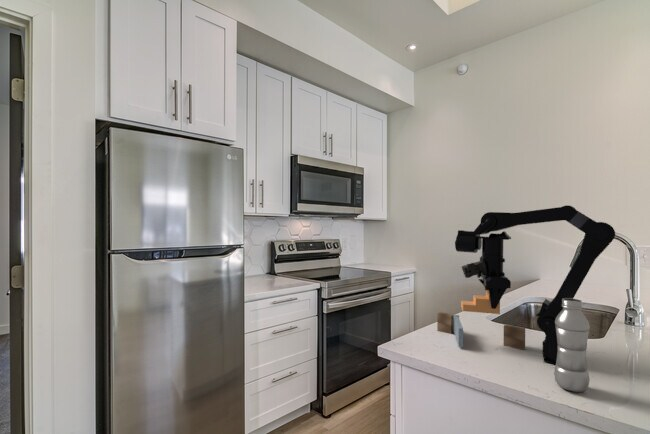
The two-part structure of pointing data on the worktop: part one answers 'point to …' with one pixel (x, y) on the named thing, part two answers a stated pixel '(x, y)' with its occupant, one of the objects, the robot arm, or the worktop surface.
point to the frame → (512, 334)
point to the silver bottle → (572, 347)
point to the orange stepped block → (480, 305)
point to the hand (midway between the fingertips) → (491, 306)
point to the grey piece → (458, 330)
